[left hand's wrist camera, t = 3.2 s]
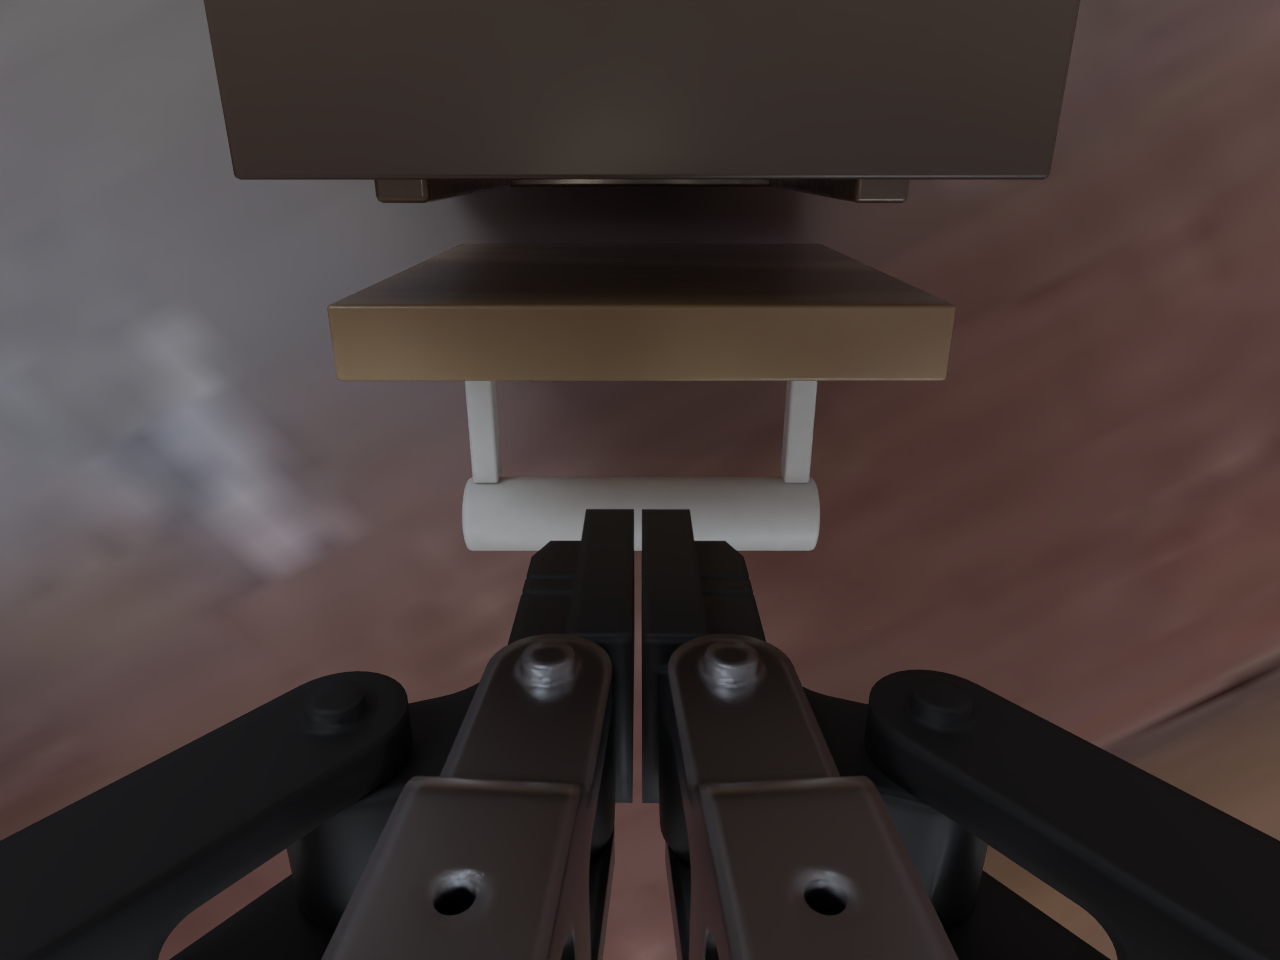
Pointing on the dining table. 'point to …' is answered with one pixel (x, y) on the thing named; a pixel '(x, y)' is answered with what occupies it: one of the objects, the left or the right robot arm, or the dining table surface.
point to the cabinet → (641, 88)
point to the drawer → (641, 351)
